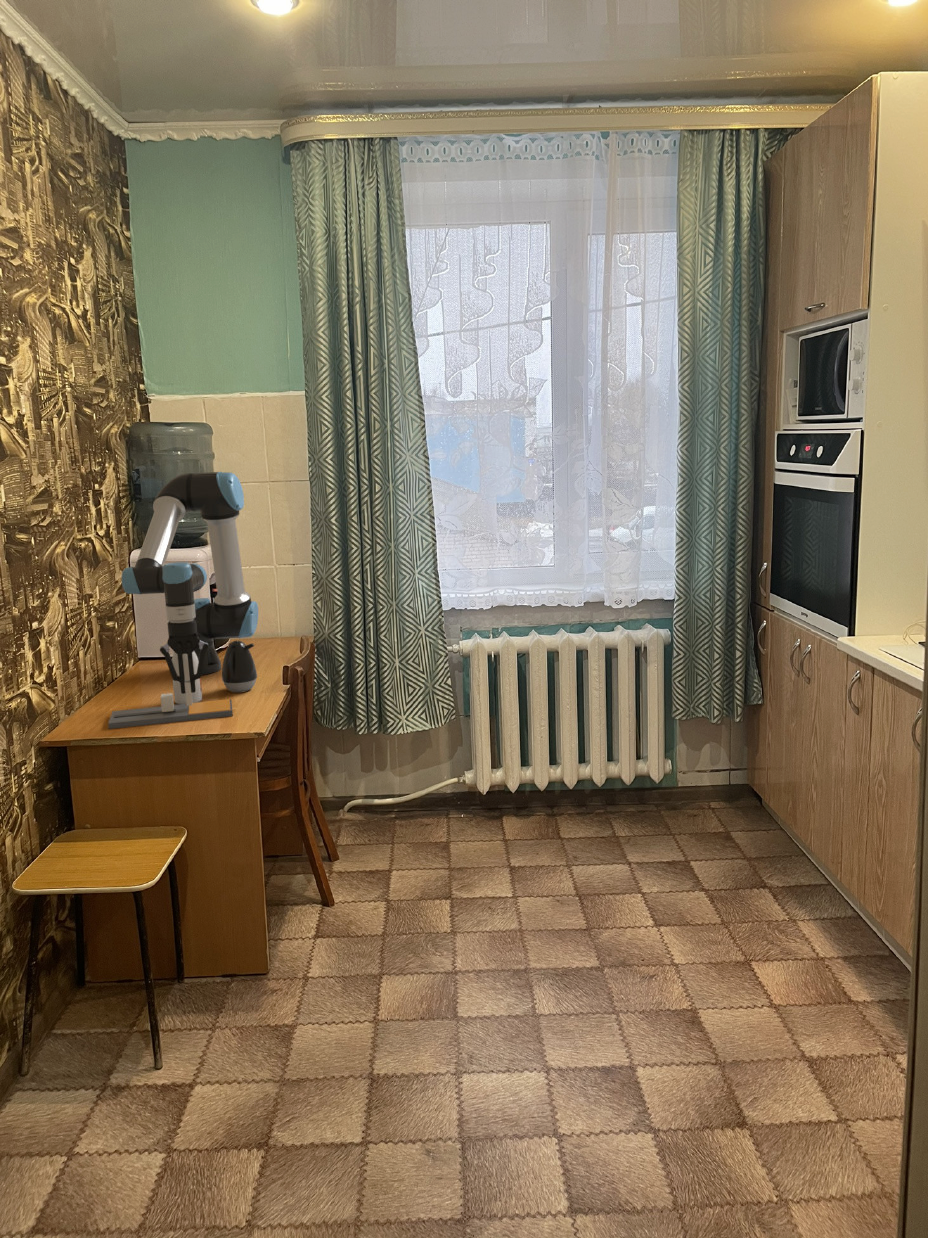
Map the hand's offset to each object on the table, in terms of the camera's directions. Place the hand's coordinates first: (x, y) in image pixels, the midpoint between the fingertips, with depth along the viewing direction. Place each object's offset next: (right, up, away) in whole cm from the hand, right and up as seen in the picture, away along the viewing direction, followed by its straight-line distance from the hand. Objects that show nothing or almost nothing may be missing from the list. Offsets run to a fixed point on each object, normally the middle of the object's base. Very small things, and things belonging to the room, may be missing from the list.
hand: (189, 704), depth 267 cm
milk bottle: (-4, -1, +14) cm, 14 cm away
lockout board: (-5, -3, -1) cm, 6 cm away
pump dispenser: (+9, +2, +24) cm, 26 cm away
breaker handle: (-6, -1, -1) cm, 6 cm away
